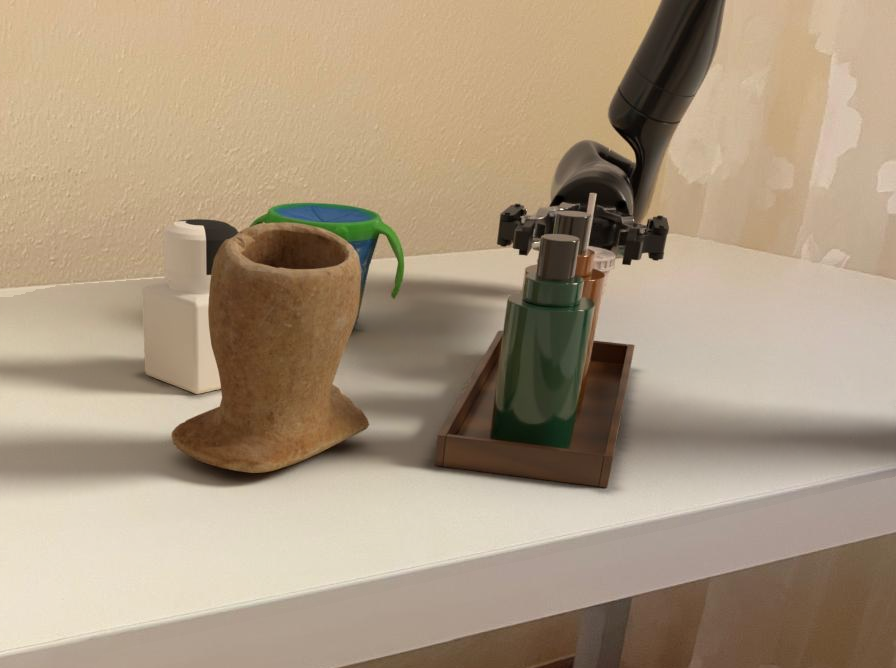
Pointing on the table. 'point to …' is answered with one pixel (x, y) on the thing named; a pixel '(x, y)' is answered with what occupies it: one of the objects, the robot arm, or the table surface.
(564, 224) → the amber bottle
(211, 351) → the medicine bottle
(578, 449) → the tray
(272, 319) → the stone cup
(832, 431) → the table surface
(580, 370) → the green bottle
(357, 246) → the snack cup
